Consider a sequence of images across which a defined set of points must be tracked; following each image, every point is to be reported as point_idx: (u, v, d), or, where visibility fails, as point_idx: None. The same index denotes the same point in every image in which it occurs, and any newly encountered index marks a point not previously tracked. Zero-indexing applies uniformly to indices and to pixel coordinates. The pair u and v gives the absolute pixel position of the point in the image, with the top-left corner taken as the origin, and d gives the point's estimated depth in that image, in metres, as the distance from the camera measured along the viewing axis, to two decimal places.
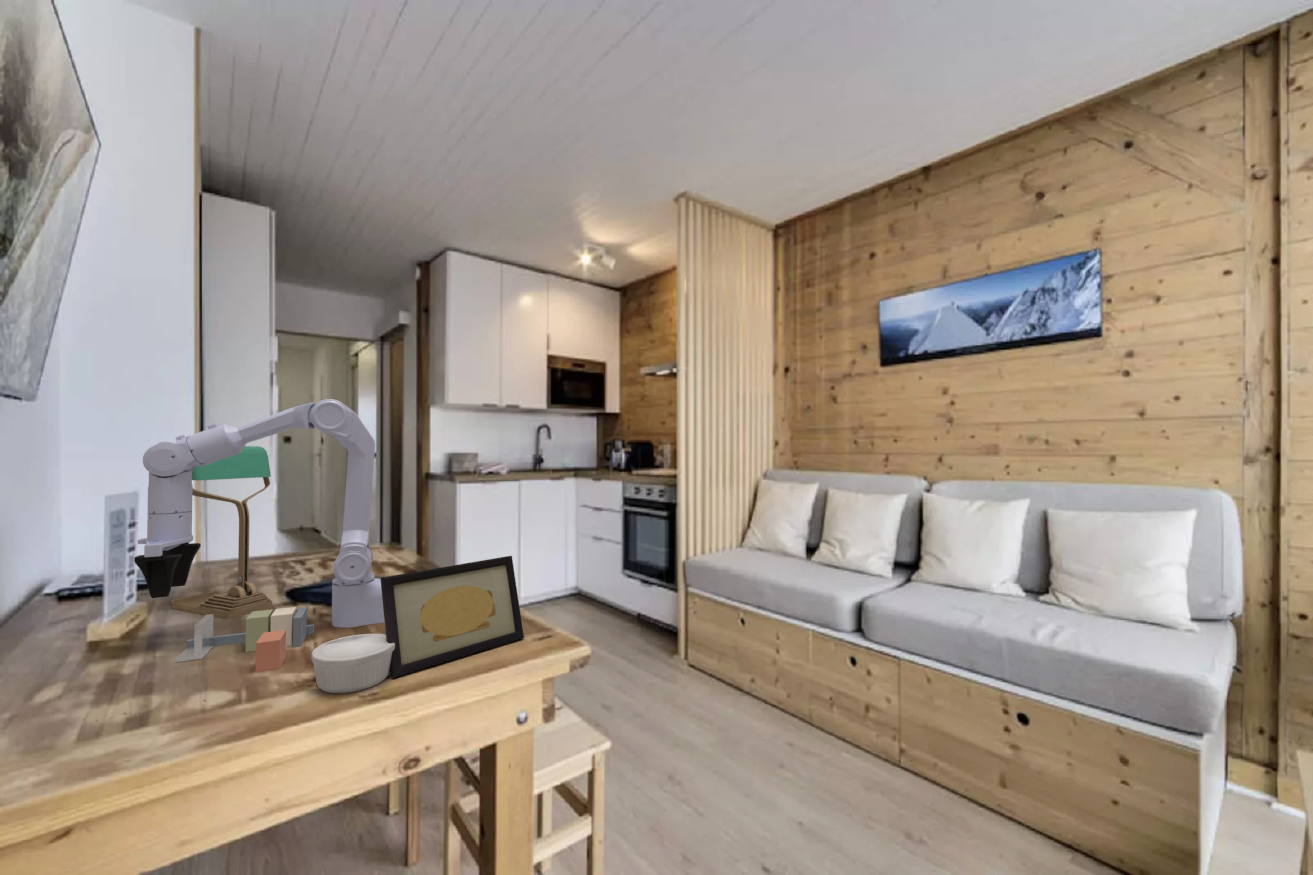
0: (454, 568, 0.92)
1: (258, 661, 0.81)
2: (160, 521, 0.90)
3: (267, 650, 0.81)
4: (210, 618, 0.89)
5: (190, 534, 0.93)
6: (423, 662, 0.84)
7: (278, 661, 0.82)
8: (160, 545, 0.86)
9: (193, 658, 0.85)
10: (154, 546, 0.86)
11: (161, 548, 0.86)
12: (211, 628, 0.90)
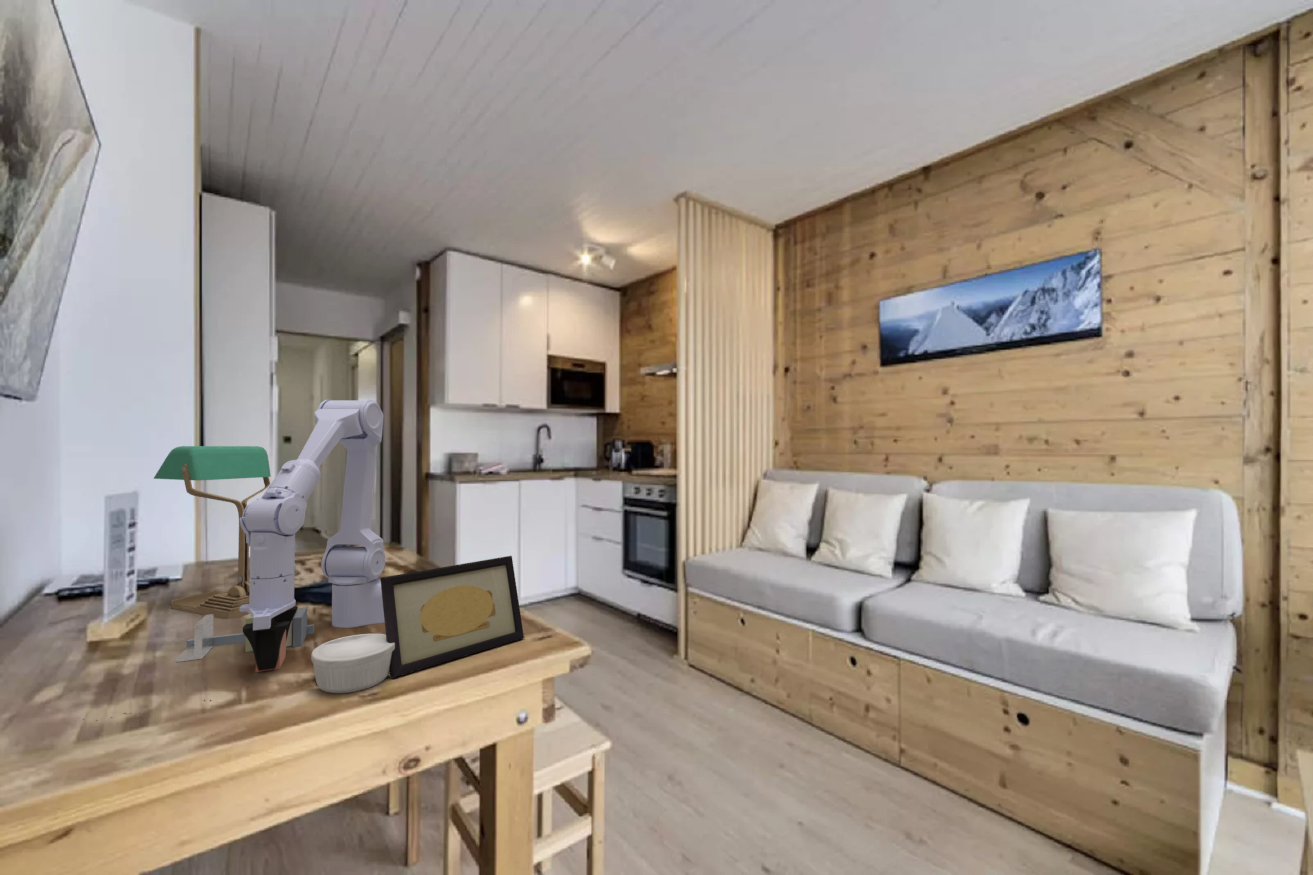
0: (454, 568, 0.92)
1: None
2: (265, 587, 0.81)
3: None
4: (210, 618, 0.89)
5: (293, 598, 0.85)
6: (423, 662, 0.84)
7: (278, 661, 0.82)
8: (269, 616, 0.78)
9: (193, 658, 0.85)
10: (263, 618, 0.77)
11: (270, 619, 0.78)
12: (211, 628, 0.90)
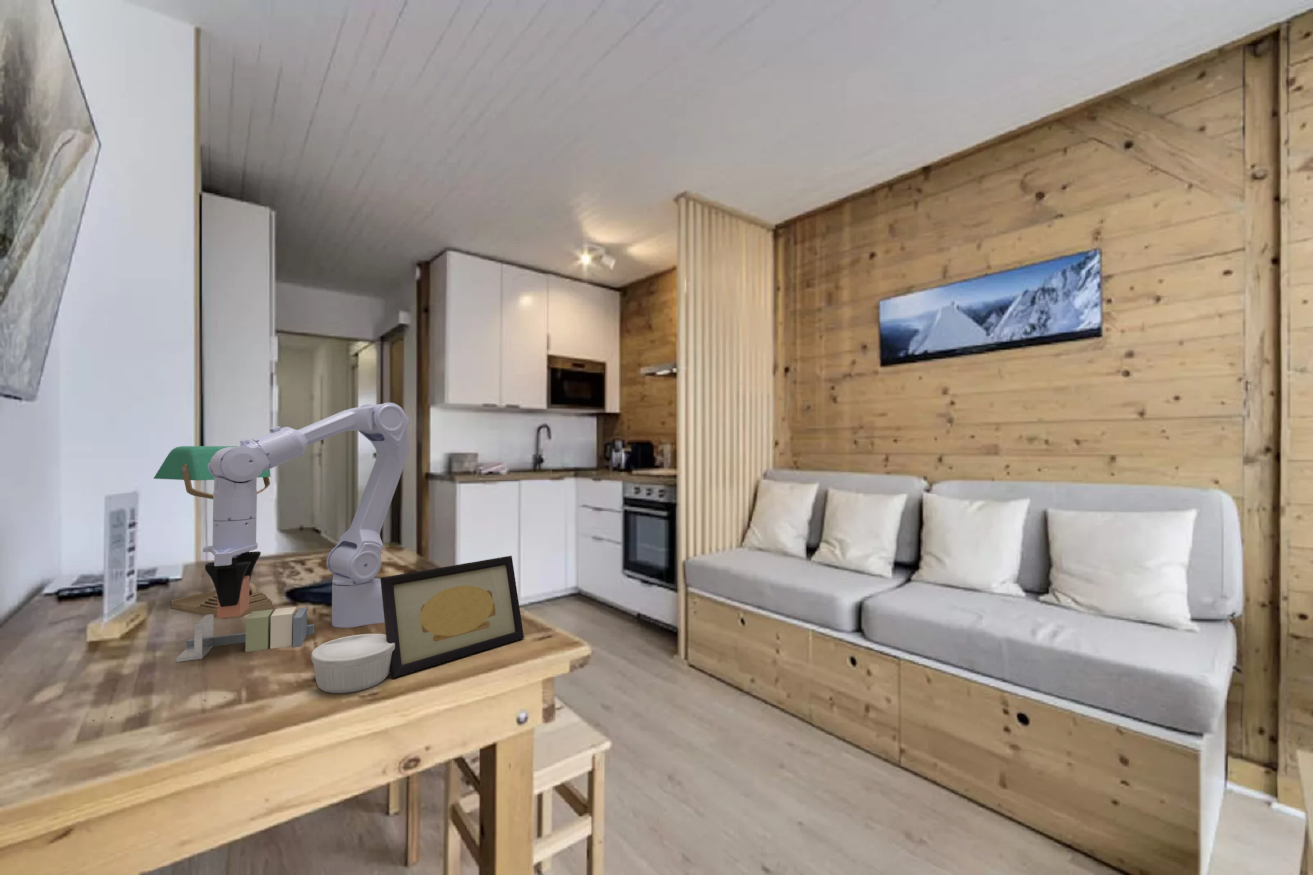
0: (454, 568, 0.92)
1: None
2: (227, 528, 0.86)
3: None
4: (210, 618, 0.89)
5: (255, 542, 0.90)
6: (423, 662, 0.84)
7: (239, 602, 0.87)
8: (230, 553, 0.83)
9: (193, 658, 0.85)
10: (224, 554, 0.83)
11: (231, 556, 0.83)
12: (211, 628, 0.90)
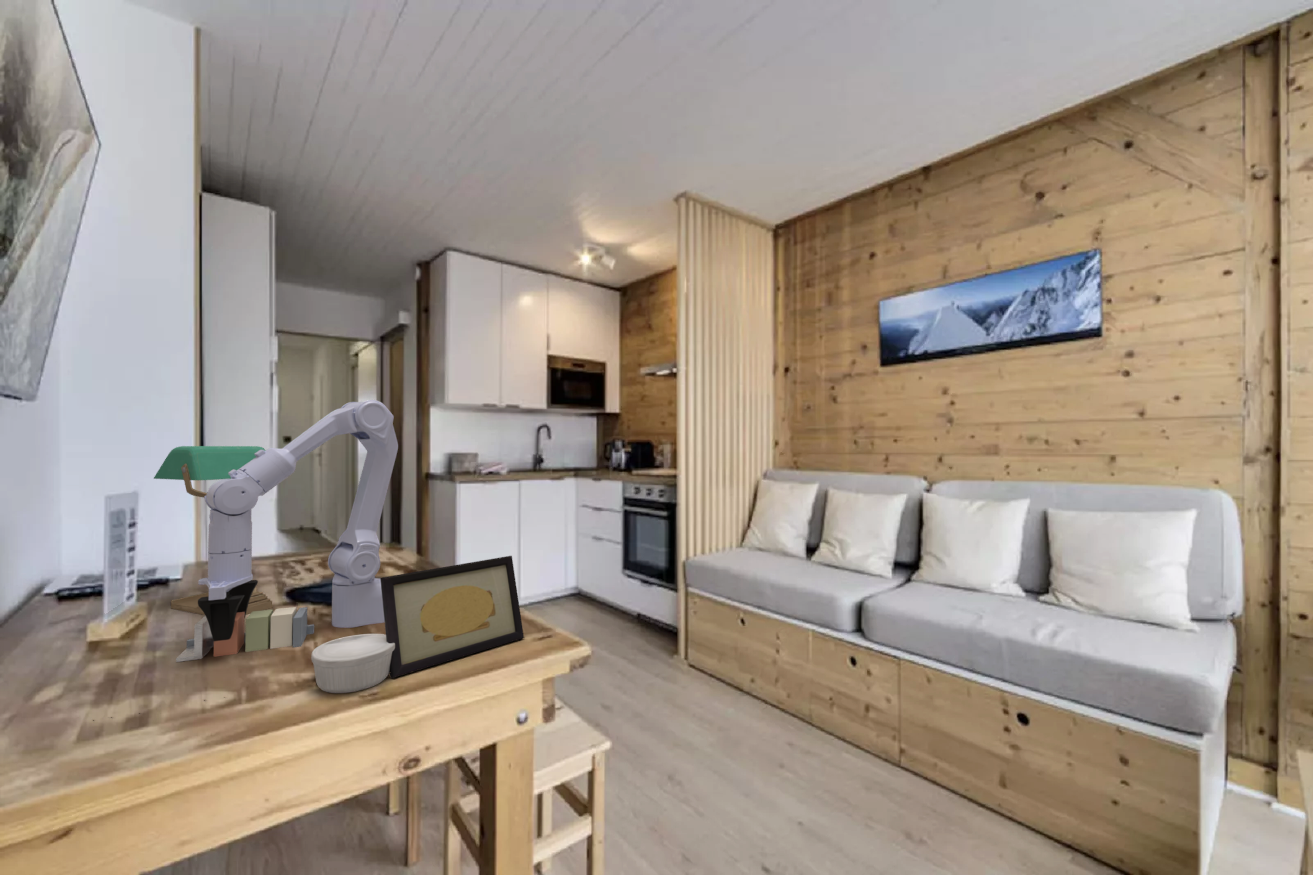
0: (454, 568, 0.92)
1: None
2: (222, 561, 0.87)
3: None
4: None
5: (250, 573, 0.91)
6: (423, 662, 0.84)
7: (235, 640, 0.88)
8: (224, 587, 0.83)
9: (193, 658, 0.85)
10: (218, 589, 0.83)
11: (225, 590, 0.84)
12: None
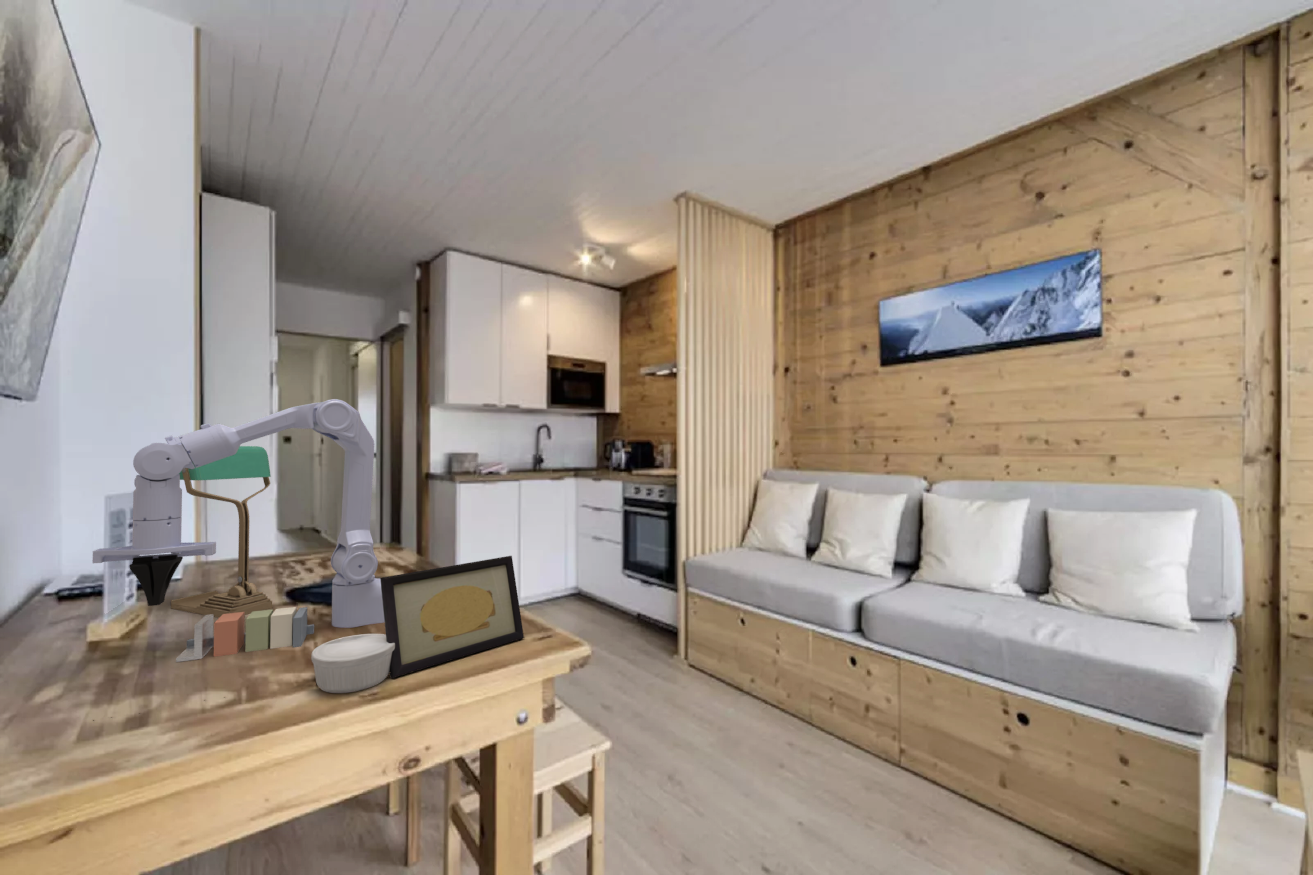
0: (454, 568, 0.92)
1: (216, 640, 0.87)
2: None
3: (225, 630, 0.87)
4: (210, 618, 0.89)
5: (149, 547, 0.83)
6: (423, 662, 0.84)
7: (235, 640, 0.88)
8: (93, 552, 0.82)
9: (193, 658, 0.85)
10: None
11: (95, 555, 0.82)
12: (211, 628, 0.90)
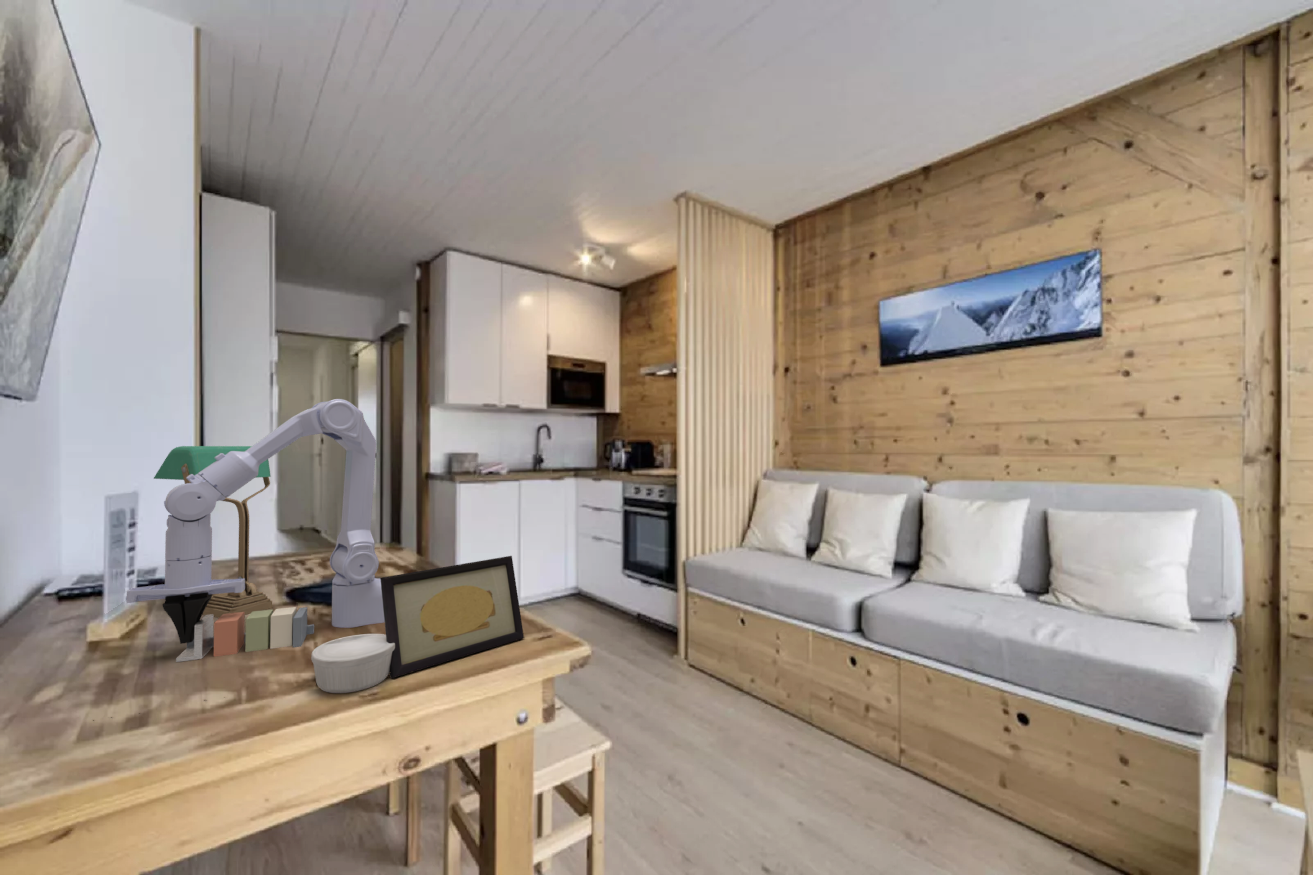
0: (454, 568, 0.92)
1: (216, 640, 0.87)
2: None
3: (225, 630, 0.87)
4: (210, 618, 0.89)
5: (181, 586, 0.85)
6: (424, 662, 0.84)
7: (235, 640, 0.88)
8: (127, 592, 0.83)
9: (193, 658, 0.85)
10: None
11: (129, 595, 0.83)
12: (211, 628, 0.90)
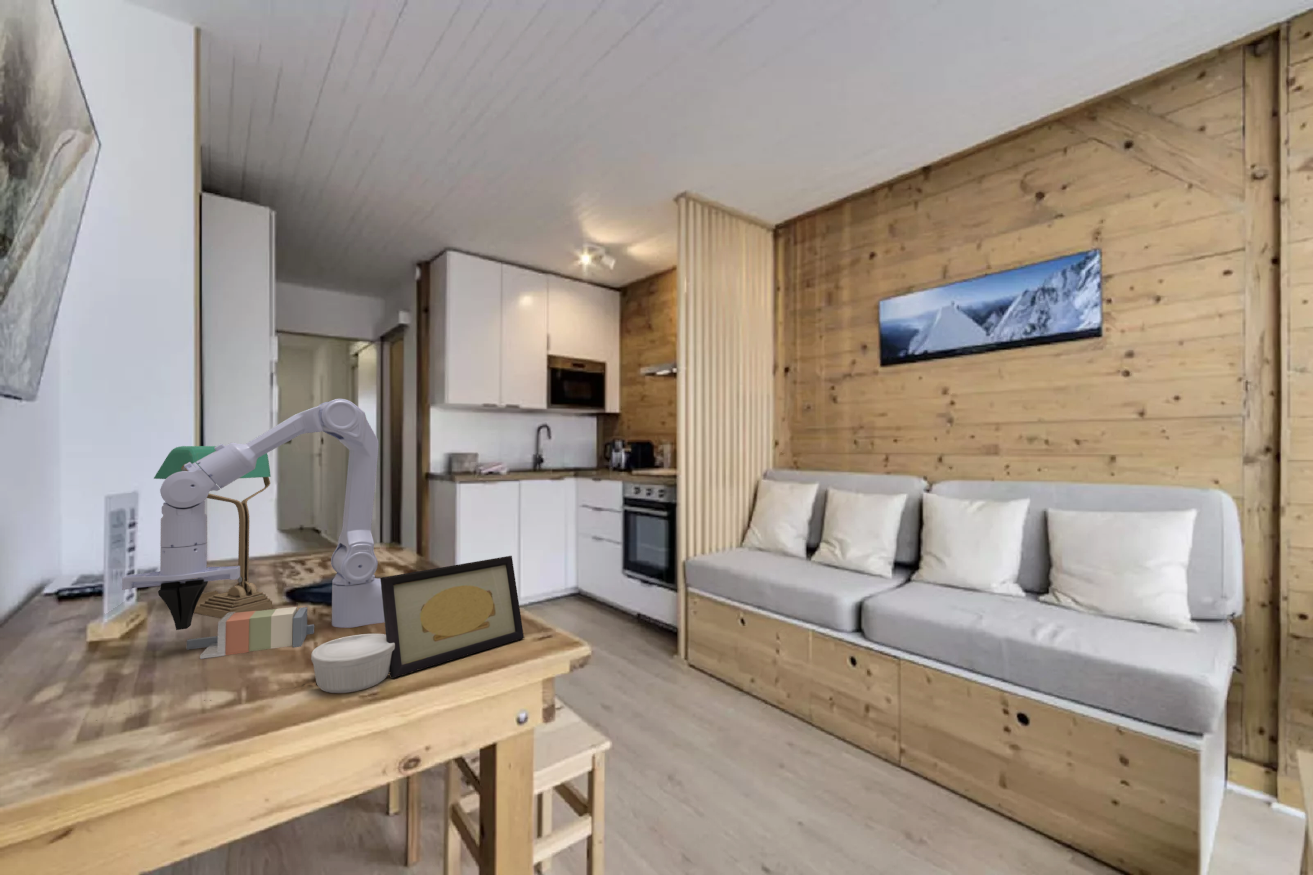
0: (454, 568, 0.92)
1: (228, 638, 0.87)
2: None
3: (237, 628, 0.88)
4: None
5: (176, 573, 0.85)
6: (423, 662, 0.84)
7: (247, 638, 0.88)
8: (123, 578, 0.84)
9: (216, 655, 0.86)
10: None
11: (125, 582, 0.84)
12: None
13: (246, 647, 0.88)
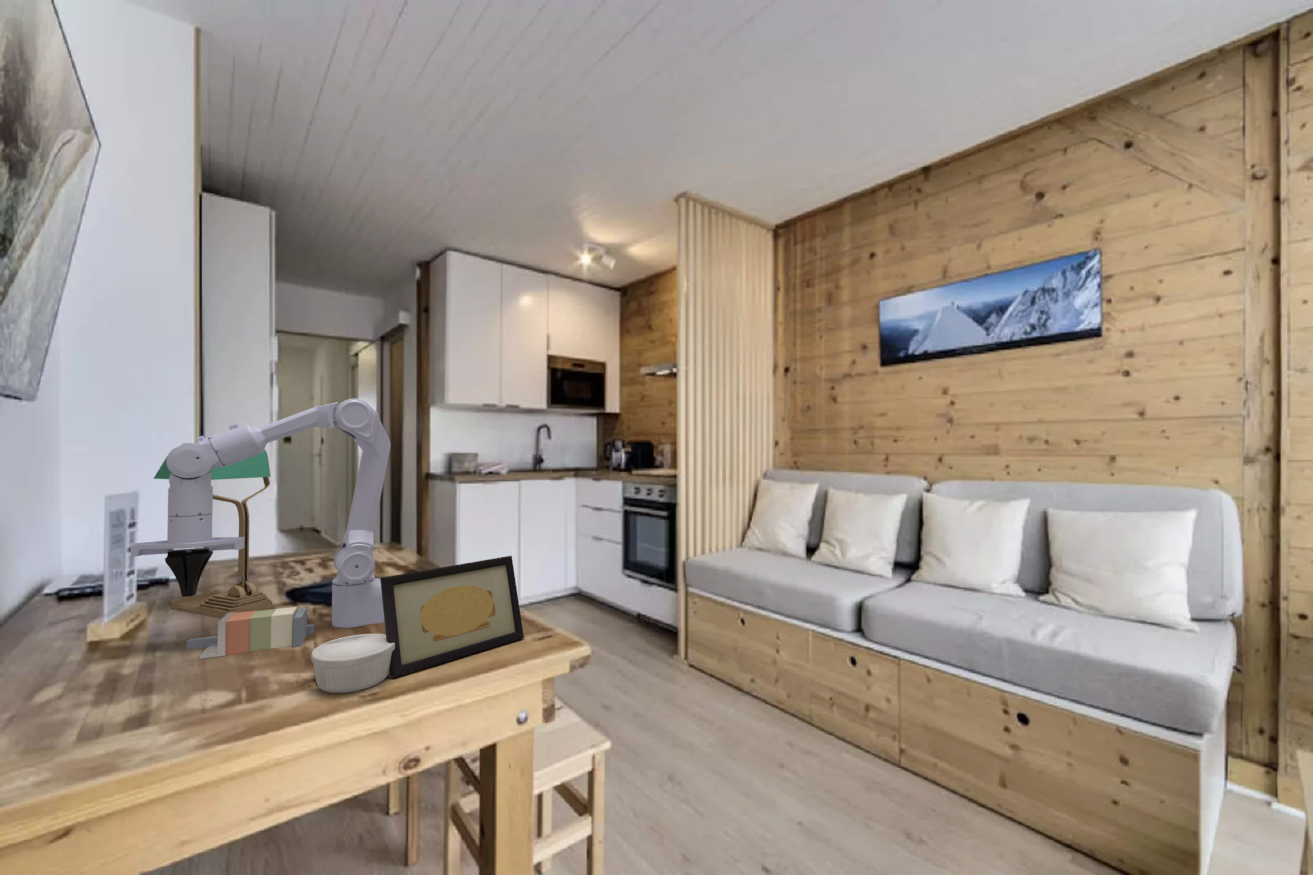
0: (454, 568, 0.92)
1: (228, 638, 0.87)
2: None
3: (237, 628, 0.88)
4: None
5: (183, 541, 0.88)
6: (423, 662, 0.84)
7: (247, 638, 0.88)
8: (131, 546, 0.86)
9: (216, 655, 0.86)
10: None
11: (133, 549, 0.86)
12: None
13: (246, 647, 0.88)
